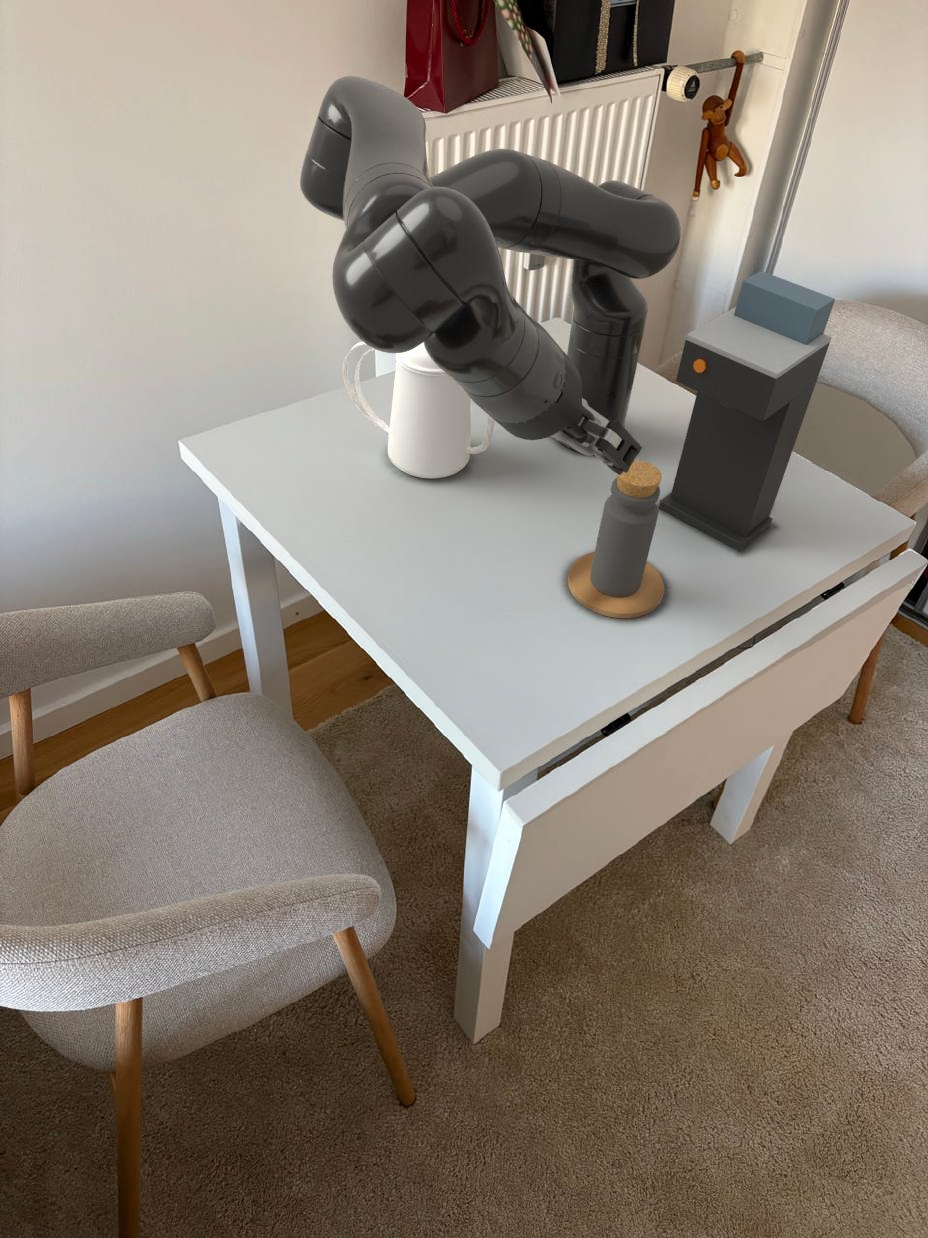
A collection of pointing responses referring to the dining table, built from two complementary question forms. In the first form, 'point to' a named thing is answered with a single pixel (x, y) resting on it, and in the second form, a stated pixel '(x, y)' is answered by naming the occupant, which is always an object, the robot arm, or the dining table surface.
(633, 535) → the bottle
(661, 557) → the dining table surface
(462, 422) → the coffeepot
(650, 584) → the disc
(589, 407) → the robot arm
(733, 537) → the coffee maker
